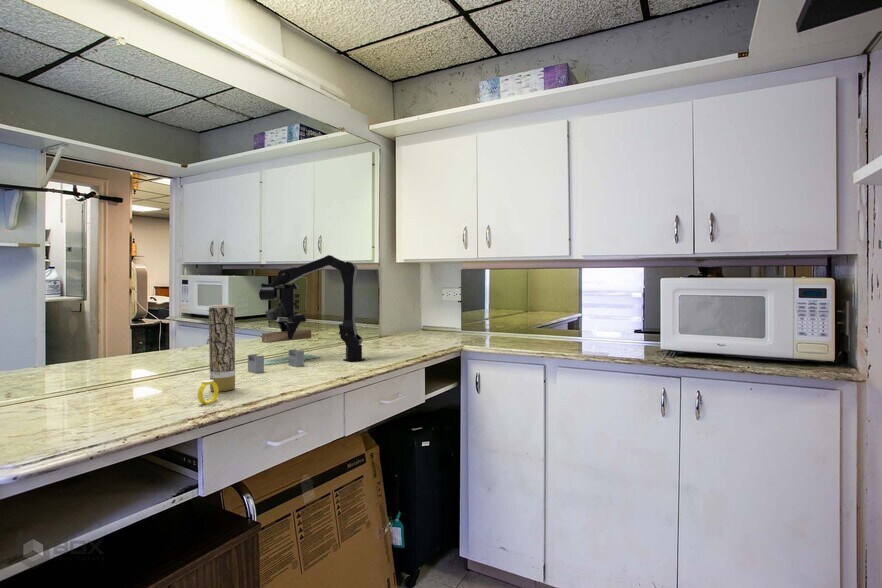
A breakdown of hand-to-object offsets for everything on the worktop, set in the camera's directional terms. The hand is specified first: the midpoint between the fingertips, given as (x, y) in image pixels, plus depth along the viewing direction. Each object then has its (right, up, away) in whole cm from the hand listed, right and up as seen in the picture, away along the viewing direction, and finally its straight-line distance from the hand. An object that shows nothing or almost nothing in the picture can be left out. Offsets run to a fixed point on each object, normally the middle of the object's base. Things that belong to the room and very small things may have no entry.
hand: (287, 338), depth 190 cm
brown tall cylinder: (-3, -10, -51) cm, 52 cm away
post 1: (-4, -9, -23) cm, 25 cm away
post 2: (+7, -9, -11) cm, 16 cm away
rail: (0, -1, 0) cm, 1 cm away
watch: (0, -11, -66) cm, 66 cm away
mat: (0, -9, 0) cm, 9 cm away
